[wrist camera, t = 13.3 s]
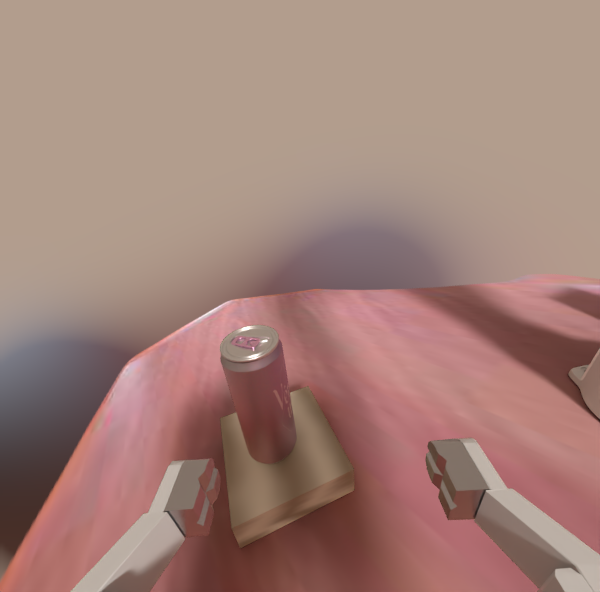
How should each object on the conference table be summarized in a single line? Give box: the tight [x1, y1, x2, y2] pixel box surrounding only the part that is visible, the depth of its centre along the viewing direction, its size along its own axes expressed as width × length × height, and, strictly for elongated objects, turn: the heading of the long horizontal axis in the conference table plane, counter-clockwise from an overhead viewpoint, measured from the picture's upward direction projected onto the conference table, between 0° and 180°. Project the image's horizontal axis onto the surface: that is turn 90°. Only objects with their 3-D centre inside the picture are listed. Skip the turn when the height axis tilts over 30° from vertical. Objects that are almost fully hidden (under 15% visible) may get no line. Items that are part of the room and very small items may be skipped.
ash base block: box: [220, 386, 354, 548], centre depth 32 cm, size 13×13×4 cm
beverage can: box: [220, 325, 297, 464], centre depth 28 cm, size 6×6×15 cm
